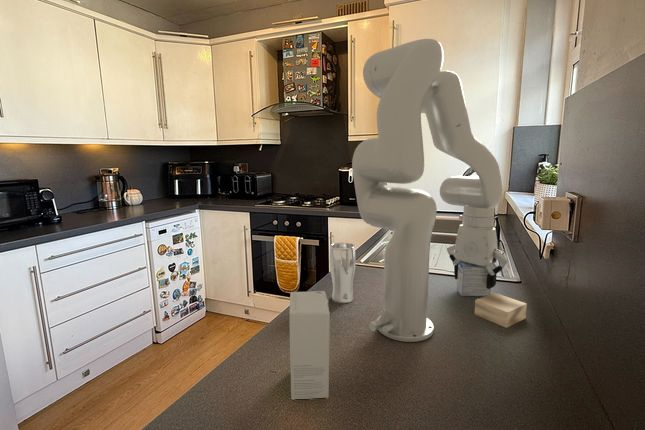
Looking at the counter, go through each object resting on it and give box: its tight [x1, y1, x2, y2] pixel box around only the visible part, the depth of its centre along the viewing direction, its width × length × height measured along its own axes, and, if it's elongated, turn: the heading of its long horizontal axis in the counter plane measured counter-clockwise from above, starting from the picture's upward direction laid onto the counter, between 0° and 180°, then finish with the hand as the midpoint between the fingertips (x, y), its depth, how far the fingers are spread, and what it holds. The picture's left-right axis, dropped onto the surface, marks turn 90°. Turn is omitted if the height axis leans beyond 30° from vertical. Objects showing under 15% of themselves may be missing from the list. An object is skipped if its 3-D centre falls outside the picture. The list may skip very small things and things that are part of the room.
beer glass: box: [329, 242, 356, 304], centre depth 94 cm, size 7×7×15 cm
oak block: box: [474, 292, 528, 328], centre depth 84 cm, size 8×8×4 cm
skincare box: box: [289, 290, 331, 400], centre depth 59 cm, size 8×7×16 cm
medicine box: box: [456, 262, 492, 297], centre depth 97 cm, size 8×4×9 cm, turn 84°
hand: (473, 282), depth 97 cm, fingers closed on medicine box, 8 cm apart
